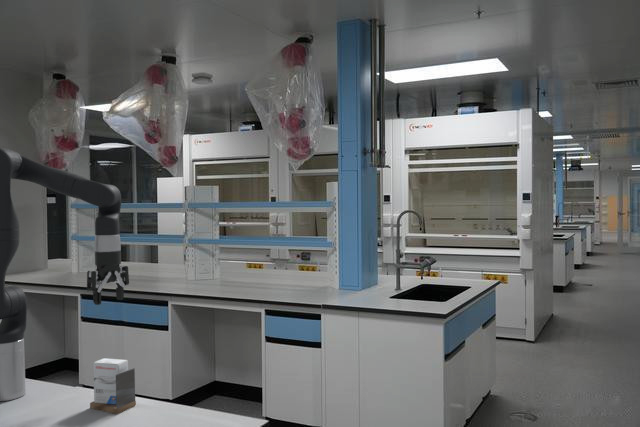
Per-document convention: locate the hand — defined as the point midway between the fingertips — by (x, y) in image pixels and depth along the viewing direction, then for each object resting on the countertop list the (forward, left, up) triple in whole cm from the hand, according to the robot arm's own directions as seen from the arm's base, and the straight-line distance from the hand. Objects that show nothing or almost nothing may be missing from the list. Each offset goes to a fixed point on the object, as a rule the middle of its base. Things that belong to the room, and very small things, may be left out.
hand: (109, 301), depth 171 cm
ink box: (+9, -8, -27) cm, 30 cm away
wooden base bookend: (+10, -8, -28) cm, 31 cm away
